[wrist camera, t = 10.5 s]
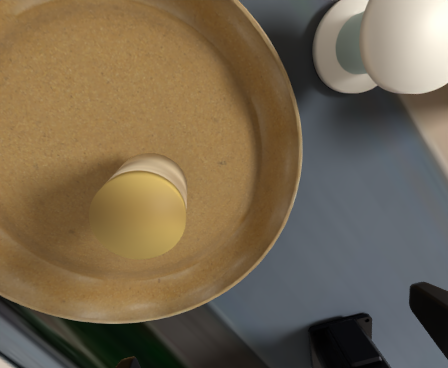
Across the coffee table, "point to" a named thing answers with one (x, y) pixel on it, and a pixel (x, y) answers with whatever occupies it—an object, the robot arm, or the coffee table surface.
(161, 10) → the plant saucer
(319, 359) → the robot arm
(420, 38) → the white spool
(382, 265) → the coffee table surface
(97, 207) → the brass peg
